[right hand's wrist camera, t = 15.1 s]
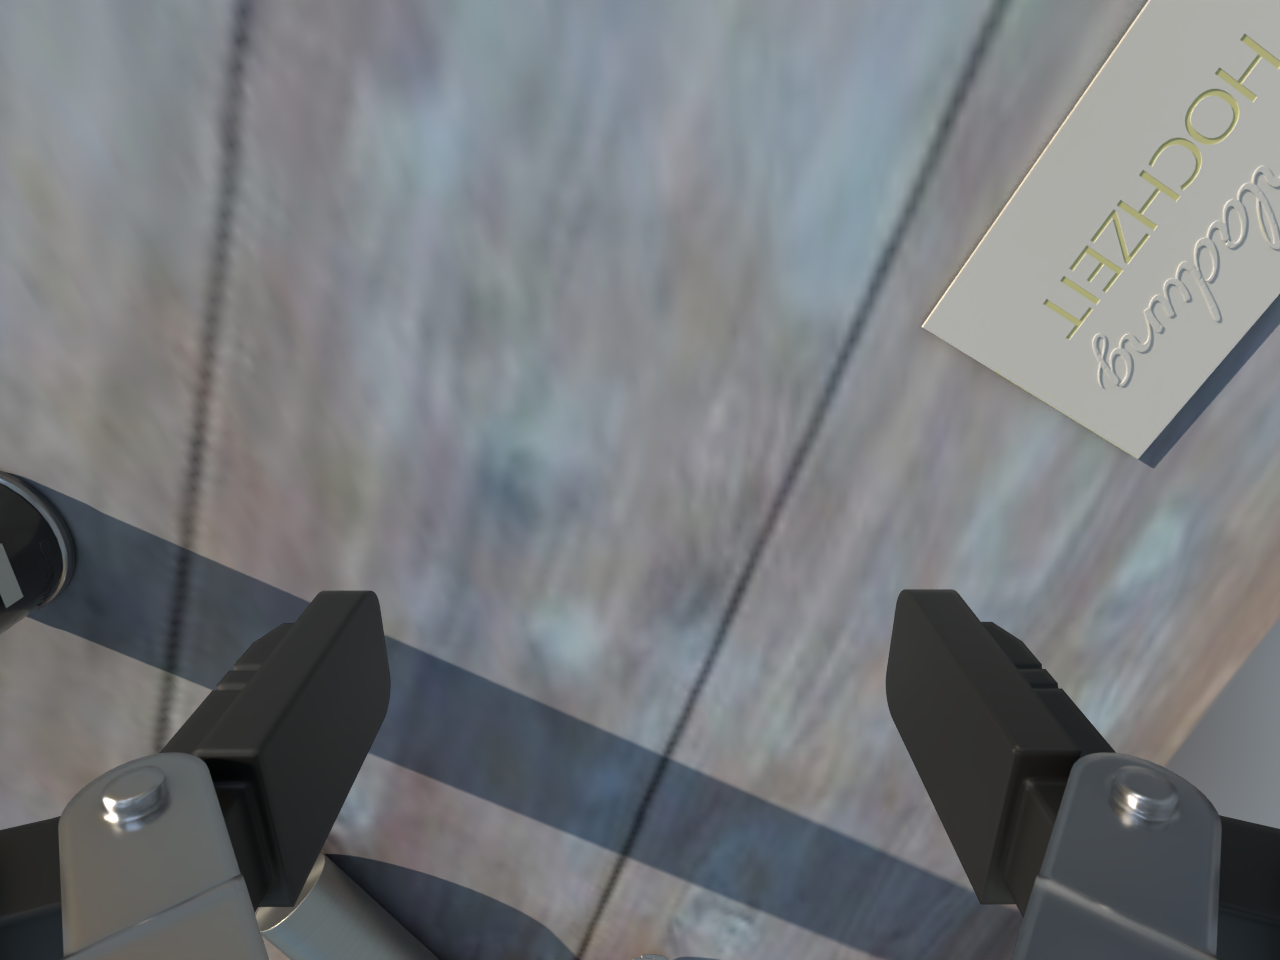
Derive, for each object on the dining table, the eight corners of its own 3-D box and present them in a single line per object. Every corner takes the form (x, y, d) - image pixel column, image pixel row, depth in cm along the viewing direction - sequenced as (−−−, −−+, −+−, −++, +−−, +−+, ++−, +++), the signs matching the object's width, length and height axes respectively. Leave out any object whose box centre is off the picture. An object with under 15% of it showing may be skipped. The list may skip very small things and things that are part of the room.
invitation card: (1223, -104, 32) (1457, 87, 35) (1218, -101, 33) (1451, 88, 35) (923, 327, 39) (1138, 459, 42) (921, 326, 39) (1135, 457, 42)
